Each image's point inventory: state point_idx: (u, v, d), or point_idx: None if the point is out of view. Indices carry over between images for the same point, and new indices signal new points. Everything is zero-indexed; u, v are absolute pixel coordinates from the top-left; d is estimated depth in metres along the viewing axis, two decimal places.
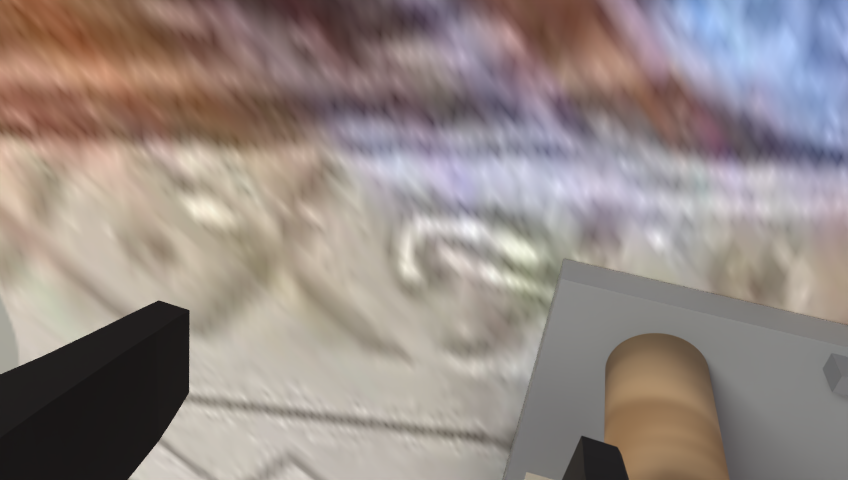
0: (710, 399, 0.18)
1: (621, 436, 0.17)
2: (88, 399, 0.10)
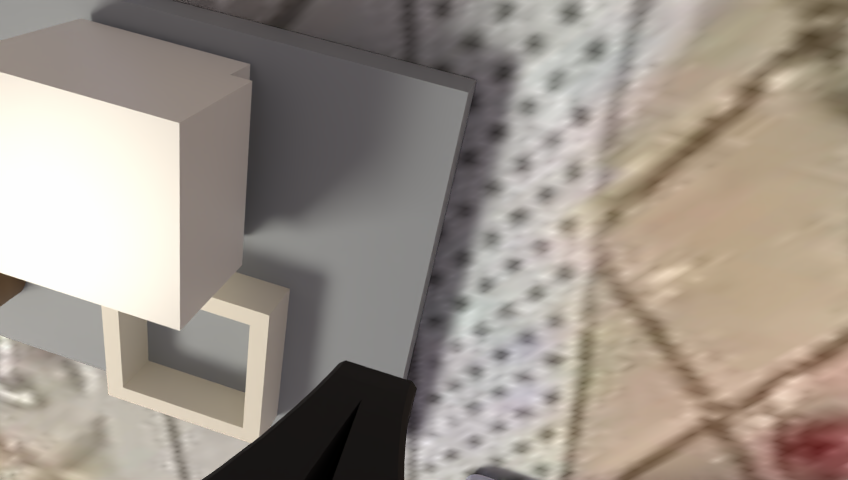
0: None
1: None
2: (316, 477, 0.09)
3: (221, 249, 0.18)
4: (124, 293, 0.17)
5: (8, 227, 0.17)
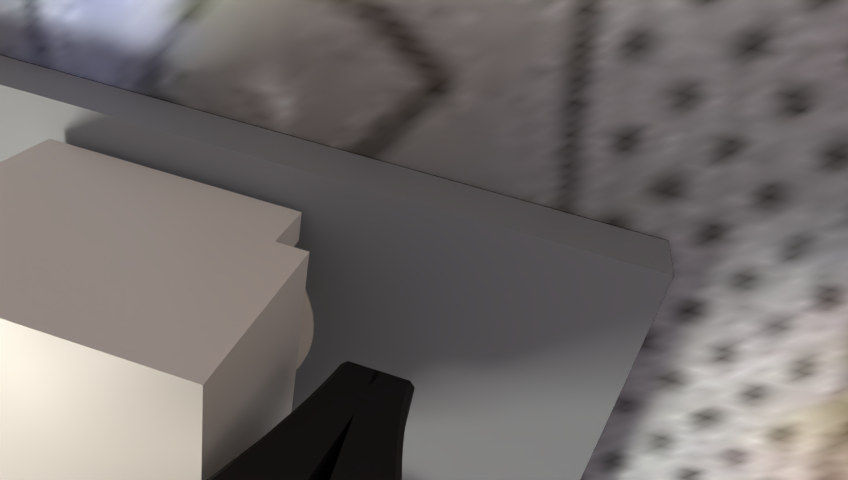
0: None
1: None
2: (319, 478, 0.09)
3: None
4: None
5: None
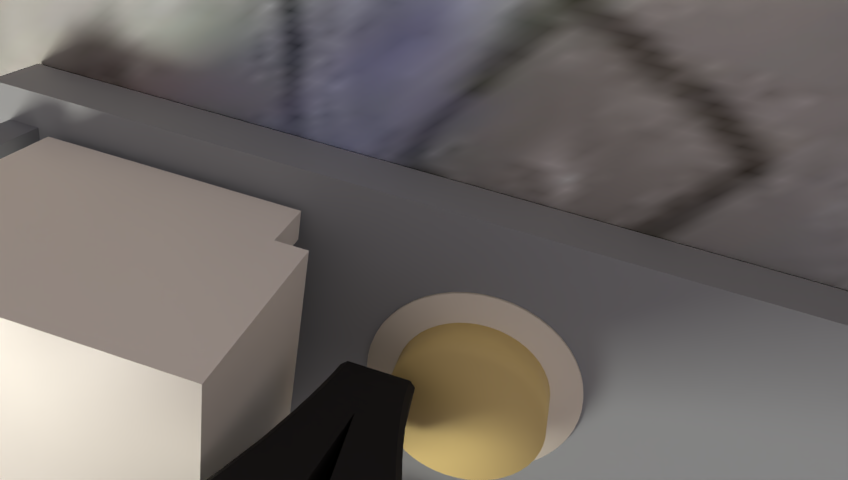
0: None
1: None
2: (319, 478, 0.09)
3: None
4: None
5: None
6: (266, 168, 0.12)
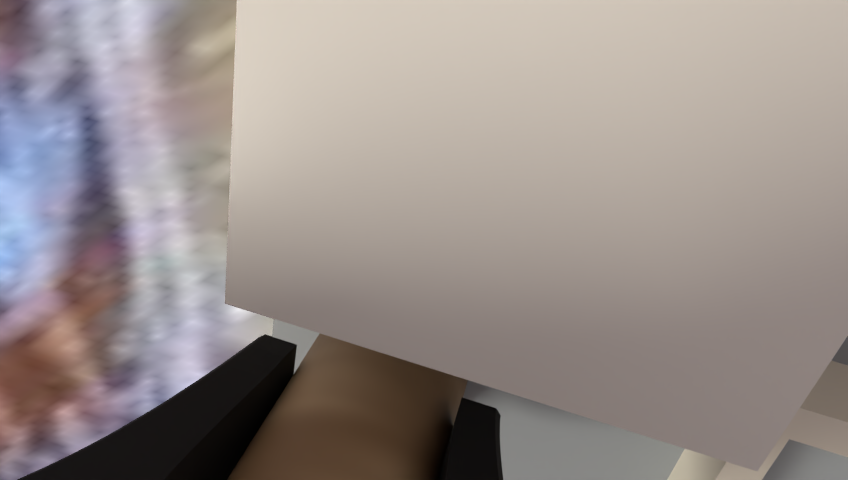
0: (304, 371, 0.11)
1: None
2: (218, 443, 0.09)
3: None
4: (626, 375, 0.06)
5: (326, 203, 0.06)
6: None
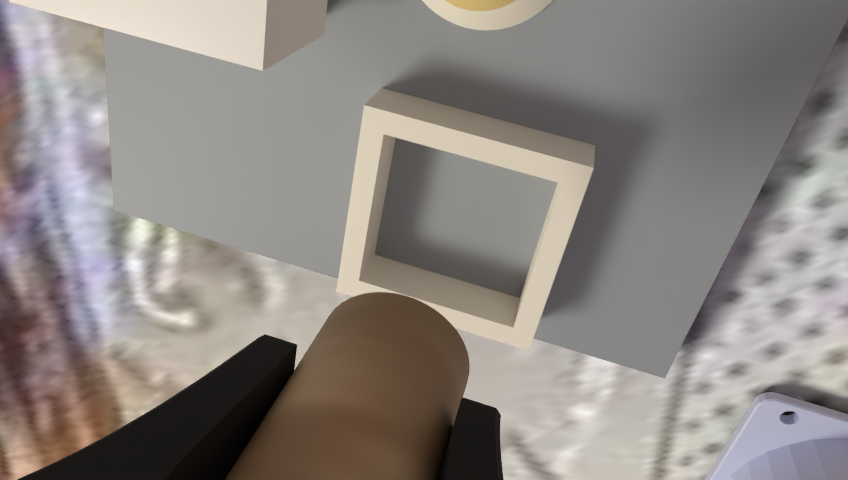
0: (307, 365, 0.11)
1: None
2: (218, 444, 0.09)
3: None
4: (192, 19, 0.13)
5: None
6: None
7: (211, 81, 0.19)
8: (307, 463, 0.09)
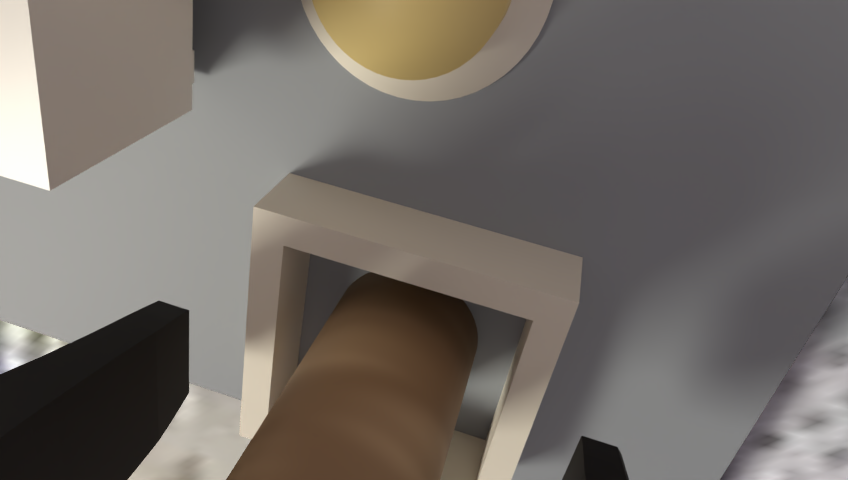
0: (327, 333, 0.12)
1: None
2: (88, 399, 0.10)
3: (142, 49, 0.09)
4: None
5: None
6: None
7: None
8: (332, 417, 0.10)
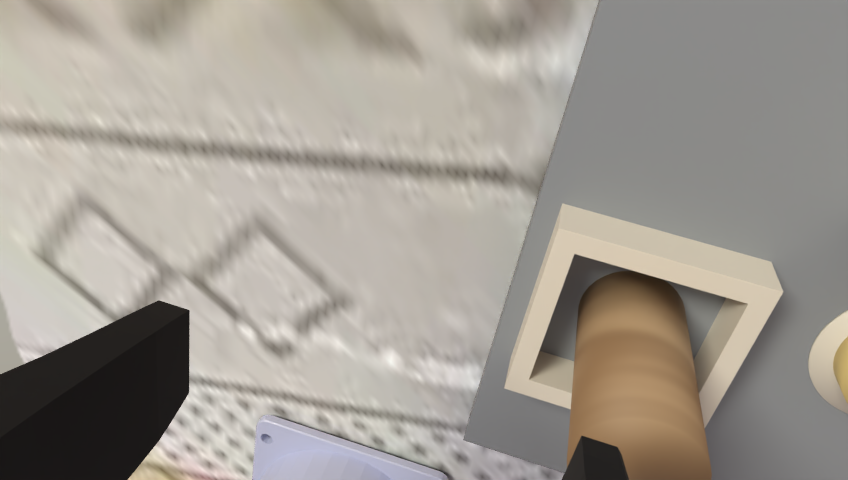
0: (686, 336, 0.17)
1: (592, 366, 0.16)
2: (88, 399, 0.10)
3: None
4: None
5: None
6: None
7: (816, 76, 0.15)
8: None
